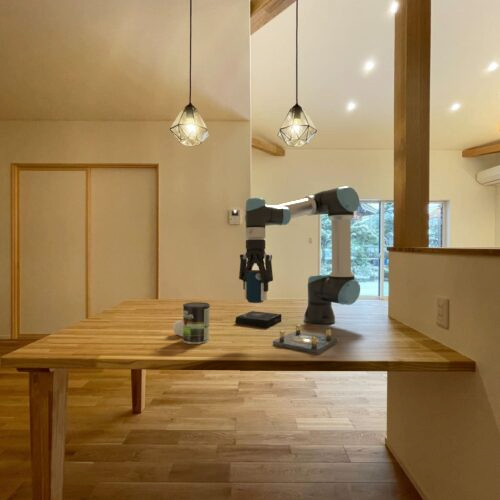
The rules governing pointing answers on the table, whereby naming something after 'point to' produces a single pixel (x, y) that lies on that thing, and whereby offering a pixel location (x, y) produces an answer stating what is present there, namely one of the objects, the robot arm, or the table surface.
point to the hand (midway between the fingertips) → (255, 299)
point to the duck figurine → (178, 327)
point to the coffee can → (196, 323)
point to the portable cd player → (258, 319)
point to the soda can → (253, 286)
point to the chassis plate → (305, 341)
